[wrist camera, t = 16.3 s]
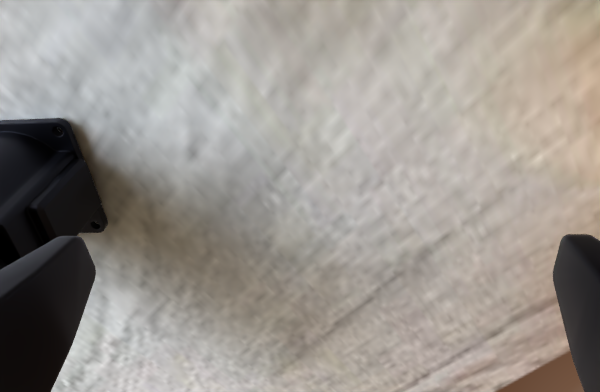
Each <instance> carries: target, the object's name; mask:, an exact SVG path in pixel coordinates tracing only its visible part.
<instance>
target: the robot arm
mask: <svg viewBox="0 0 600 392" xmlns="http://www.w3.org/2000/svg"><path fill="white" fill-rule="evenodd" d="M57 127H59V128H60V129H61V130H62V131H63V133H62V132H60V131H59V130H58V129H57ZM96 222H98V223H99V224H97V223H96ZM107 225H108V220H107V218H106V215H105V213H104V210H103V208H102V205H101V200H100V197H99V195H98V192H97V189H96V187H95V184H94V182H93V179H92V176H91V174H90V171H89V169H88V166H87V164H86V162H85V161H84V158H83V156H82V153H81V150H80V148H79V145H78V143H77V140H76V137H75V135H74V132H73V130H72V127H71V126H70V124H69V123H68V122H67V121H65V120H63V119H60V118H52V119H28V120H3V121H0V392H51V390H52V387H53V385H54V383H55V381H56V379H57V377H58V375H59V372H60V370H61V368H62V366H63V364H64V362H65V359H66V357H67V355H68V353H69V350H70V348H71V346H72V343H73V341H74V338H75V335H76V332H77V330H78V327H79V324H80V321H81V318H82V315H83V312H84V309H85V306H86V303H87V300H88V297H89V294H90V292H91V289H92V286H93V283H94V280H95V275H96V270H95V265H94V263H93V261H92V258H91V256H90V254H89V251H88V249H87V247H86V244H85V242H84V240H83V239H82V238H81V237H79V236H77V235H78V234H79V233H99V232H102V231H104V229H105V228H106V227H107ZM553 282H554V286H555V290H556V294H557V299H558V303H559V307H560V311H561V315H562V319H563V323H564V327H565V331H566V335H567V339H568V343H569V347H570V351H571V355H572V358H573V362H574V365H575V367H576V370H577V373H578V376H579V379H580V381H581V384H582V386H583V389H584V392H600V241H599V240H598V239H596V238H595V237H593V236H591V235H587V234H568V235H565V236H564V237H563V238H562V240H561V242H560V246H559V250H558V254H557V258H556V261H555V265H554V270H553Z"/></svg>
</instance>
